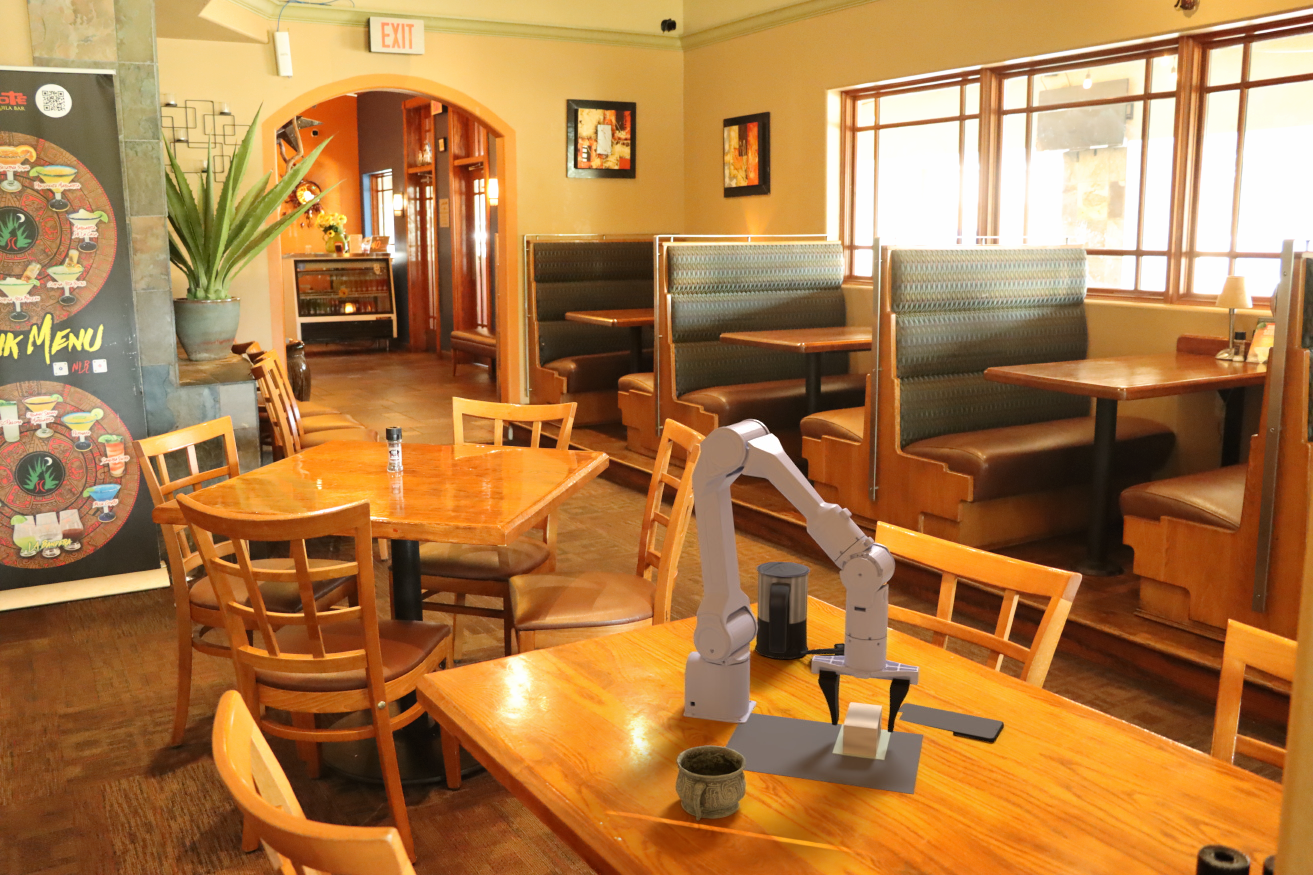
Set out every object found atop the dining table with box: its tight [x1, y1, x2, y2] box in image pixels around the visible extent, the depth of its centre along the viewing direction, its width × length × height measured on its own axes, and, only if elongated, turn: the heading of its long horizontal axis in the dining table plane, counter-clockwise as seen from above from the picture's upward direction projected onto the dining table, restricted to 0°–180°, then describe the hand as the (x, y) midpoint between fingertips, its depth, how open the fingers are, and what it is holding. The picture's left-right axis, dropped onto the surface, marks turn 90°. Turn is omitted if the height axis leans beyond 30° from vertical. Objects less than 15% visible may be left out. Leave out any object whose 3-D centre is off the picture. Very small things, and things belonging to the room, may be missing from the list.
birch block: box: [843, 701, 883, 757], centre depth 153 cm, size 8×4×4 cm, turn 164°
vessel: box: [674, 745, 747, 821], centre depth 136 cm, size 12×9×6 cm
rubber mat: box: [724, 712, 924, 795], centre depth 151 cm, size 26×18×1 cm
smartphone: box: [898, 702, 1005, 744], centre depth 161 cm, size 7×1×15 cm
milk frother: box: [754, 561, 845, 660], centre depth 186 cm, size 14×16×15 cm
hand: (862, 725), depth 153 cm, fingers open, 7 cm apart
